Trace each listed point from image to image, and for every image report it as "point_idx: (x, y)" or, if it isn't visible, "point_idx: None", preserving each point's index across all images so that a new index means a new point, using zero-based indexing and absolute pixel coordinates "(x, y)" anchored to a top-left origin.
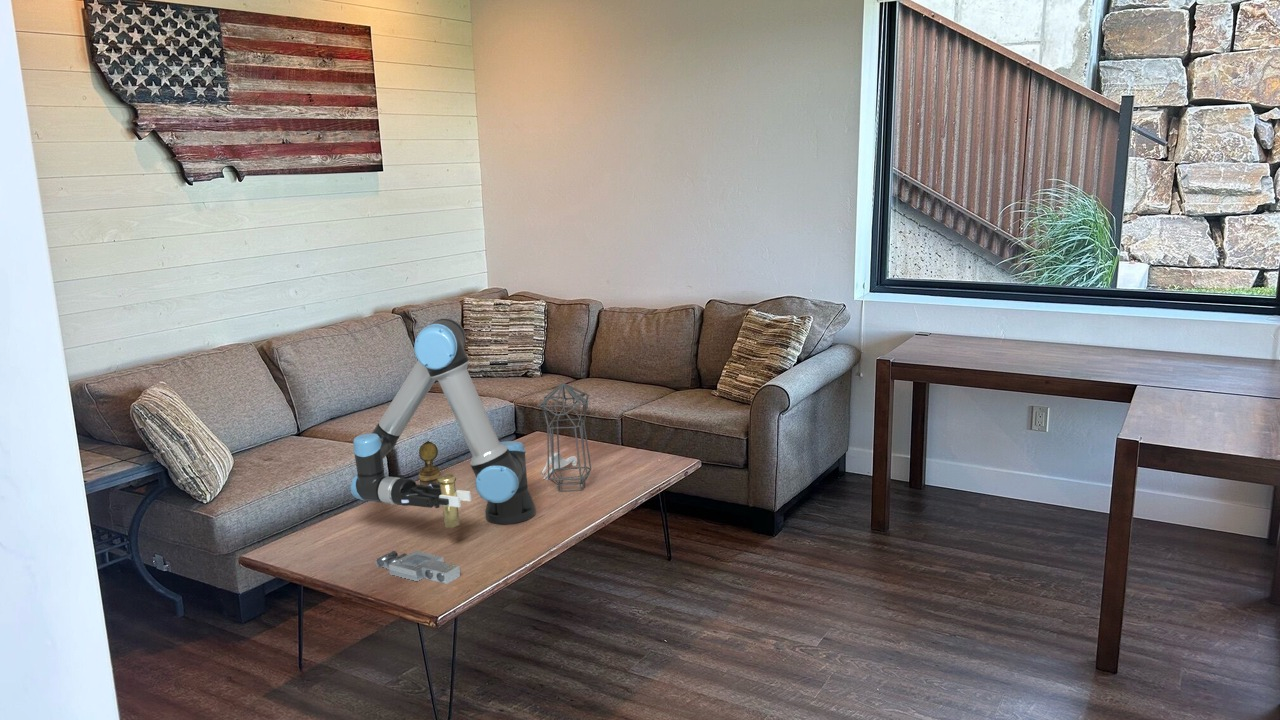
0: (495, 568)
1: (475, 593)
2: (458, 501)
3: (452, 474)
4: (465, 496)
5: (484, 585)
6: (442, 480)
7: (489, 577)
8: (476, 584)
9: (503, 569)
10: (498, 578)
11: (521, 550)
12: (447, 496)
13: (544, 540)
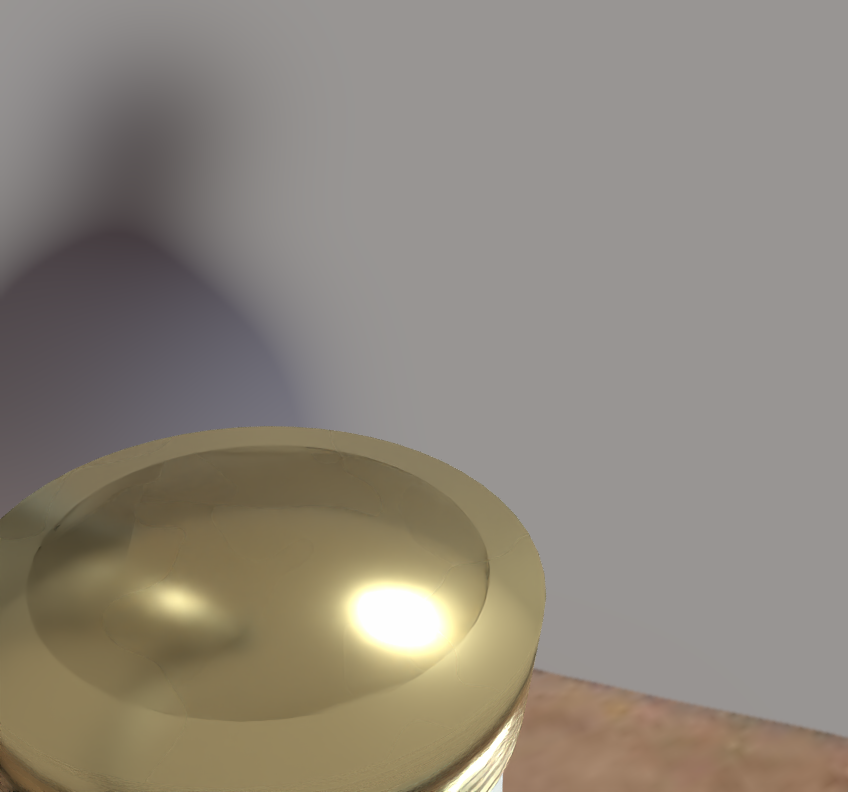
0: (531, 756)
1: (835, 736)
2: None
3: (75, 492)
4: None
5: (738, 730)
6: (536, 571)
7: (647, 743)
8: (758, 773)
9: (525, 713)
10: (631, 698)
11: None
12: (494, 788)
13: None
